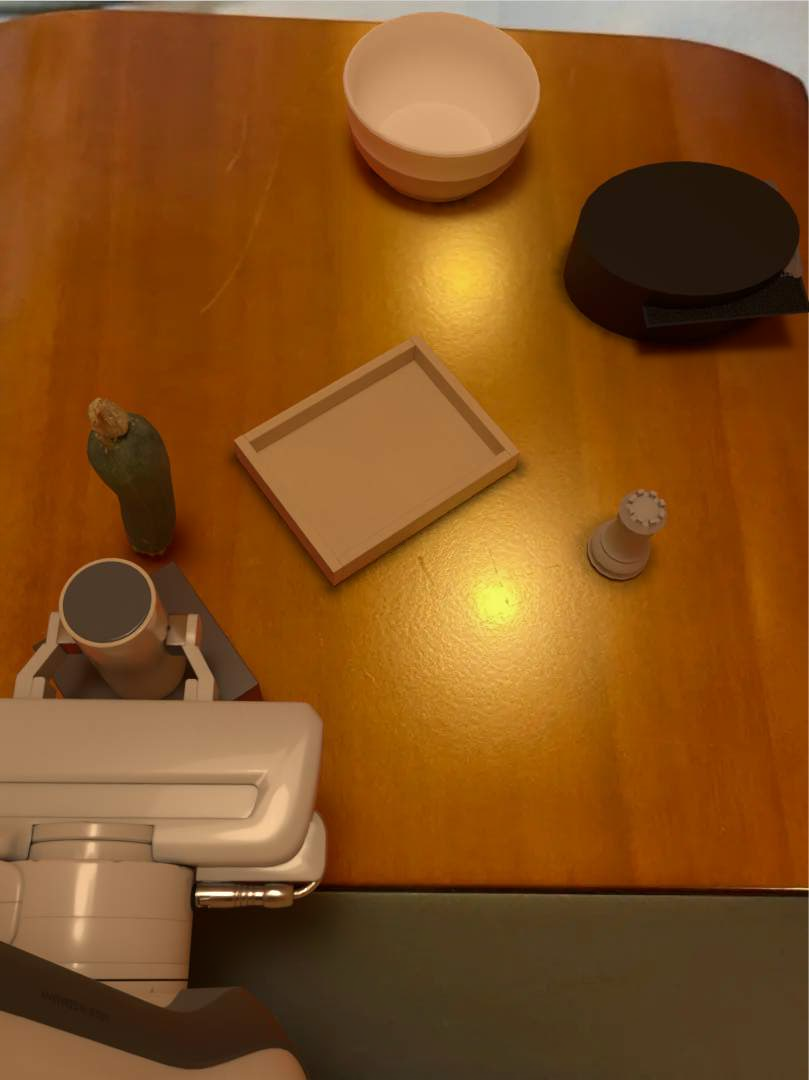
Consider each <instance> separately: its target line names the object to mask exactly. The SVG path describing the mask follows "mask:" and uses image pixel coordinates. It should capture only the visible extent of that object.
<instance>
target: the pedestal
mask: <svg viewBox="0 0 809 1080" xmlns="http://www.w3.org/2000/svg"><path fill="white" fill-rule="evenodd" d="M148 575H149V576H150V578H151V580H152V582H153V584H154V586H155V588H156V590H157V592H158V594H159V597H160V599H161V601H162V603H163V605H164V607H165V610H166V612H167V614H168V616H169V614H199V616H200V619H201V623H202V634H201V646H200V652H201V654H202V656H203V658H204V659H205V661H206V663H207V665H208V667H209V669H210V671H211V673H212V675H213V677H214V679H215V681H216V684H217V686H218V689H219V699H218V701H265V700H264V697H263V693H262V689H261V685H260V682H259V680H258V679H257V678H256V677H255V674H254V673H253V672H252V671H251V669H250V668H249V666H248V665H247V663H246V662H245V660H244V659H243V658H242V656H241V655H240V653H239V652H238V650H237V649H236V648H235V646H234V645H233V643H232V641H230V639H229V637H228V636H227V635H226V633H225V632H224V630H223V629H222V628H221V625H220V624H219V623H218V622H217V620H216V619H215V618H214V616H213V614H212V613H211V611H210V610H209V608H208V607H207V605H206V604H205V603H204V601H203V599H202V598H201V597H200V596H199V594H198V593H197V591H196V590H195V589H194V586H193V585H192V584H191V582H190V581H189V580H188V578H187V577H186V575H185V574H184V573H183V571H182V570H181V568H180V567H179V565H178V564H177V562H176V561H175V560H171V561H170V562H169V563H167V564H165V565H163V566H161V567H160V568H158V569H156V570H155V571H153V572H151V573H150V574H148ZM46 638H47V637H45V638H43V639H42V640H40V641H38V642H37V643H35V644H33V645H32V649H33V650H34V652H35V653H36V652H37V650H38V649H39V648H40V647H41V645H42V644H46ZM67 655H68V656H67V657H66V659H65V660H64V662H63V663H62V664H61V666H60V667H59V669H58V670H57V671H56V673H55V674H54V675H53V677H52V678H51V680H52V681H53V683H54V684H55V686H56V688H57V689H58V691H59V693H60V694H61V696H62V697H63V699H120V700H124V699H122V698H121V697H119V696H118V695H117V694H115V693H114V692H113V690H112V689H111V688H110V687H109V685H108V684H107V683H106V681H105V680H104V679H103V678H102V676H101V675H100V674H99V672H98V671H97V670H96V668H95V667H94V666H93V665H92V663H91V662H90V661H89V659H88V658H87V657H86V656H85V654H67ZM187 679H196V680H197V681H198V678H197V676H196V674H195V672H194V670H193V668H192V666H191V664H190V662H189V660H188V658H187V656H186V667H185V672H184V675H183V677H182V679H181V681H180V683H179V684H178V686H177V687H176V688H175V689H174V690H173V691H172V692H171V693H170V694H168V695H167V696H166V697H164V698H162V699H160V700H184V692H185V683H186V680H187Z"/></svg>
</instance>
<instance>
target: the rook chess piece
mask: <svg viewBox="0 0 809 1080" xmlns="http://www.w3.org/2000/svg"><path fill="white" fill-rule="evenodd" d="M666 506H667V505H666V502H665V500H664V498H660V497H659V496H658V492H657V491H655V490H653V489H650V490H649V491H648V490H645V488H640V489H637V490H633V491H630V492H628V493H626V494H625V495H624V496H623V497H622V499H621V500H620V502H619V504H618V512H617V514H616V517H615V518H611V519H607V520H605V521H604V522H602V523H601V524H600V525H598V526H597V527H596V528H595V530H594V531H593V532H592V534H591V535H590V537H589V539H588V542H587V555H588V557H589V560H590V563H591V564H592V565H593V567H595V569H596V570H597V572H599V573H600V574H602V575H604V576H606V577H608V578H610V579H615V580H622V581H623V580H628V579H631V578H635V577H636V576H637V575H638V574H640V573H642V572H643V570H644V569H645V566H646V565H647V563H648V561H649V559H650V557H651V540H650V538H652V537H653V536H654V535H655V534H656V533H658V532H659V531H661V530H662V529H663V528H664V527H665V525H666V523H667V520H668V511H667V507H666Z"/></svg>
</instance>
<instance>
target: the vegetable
mask: <svg viewBox="0 0 809 1080" xmlns="http://www.w3.org/2000/svg"><path fill="white" fill-rule="evenodd" d="M87 417H88V418H89V421H90V428H91V430H90V433H89V435H88V438H87V446H86V455H87V459H88V461H89V464H90V465H91V466H92V468H93V470H94V471H95V473H96V474H97V476H98V477H99V478H100V479H101V481H102V482H103V483H104V484H105V485H106V486H107V487H108V488H109V489H110V490H112V492H113V493H114V494H115V495H116V496H117V500H118V501H119V507H120V508H119V509H120V510H119V511H120V517H121V521H122V524H123V527H124V532H125V536H126V539H127V541H128V542H129V544H130V545H131V548H132V550H133V551H134V552H135V553H141V554H142V555H145V554H146V555H149V556H150V557H155V556H156V555H160V556H162V555H164V554H165V552H166V549H167V547H168V546H169V545H170V544H171V543H172V541H173V539H174V533H175V532H174V531H175V529H176V523H177V510H176V509H177V508H176V500H175V494H174V485H173V479H172V473H171V460H170V457H169V453H168V450H167V448H166V445H165V442H164V440H163V437H162V436H161V434H160V433H159V431H158V430H157V429H156V427H155V426H154V425H153V424H152V423H151V422H150V421H149V420H148V419H147V418H146V417H144V416H143V415H141V414H138V413H134V412H129V411H126V410H125V409H124V408H123V407H122V406H121V405H120V404H118V403H115V402H114V401H109V399H108V398H105V399H103V400H102V398H100V397H99V396H97V398H96V399H94V400H93V401H92V402H90V404H88V409H87Z"/></svg>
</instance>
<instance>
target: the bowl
mask: <svg viewBox="0 0 809 1080" xmlns="http://www.w3.org/2000/svg"><path fill="white" fill-rule="evenodd" d="M342 85H343V93H344V96H345V98H346V101H347V103H346V109H347V110H346V111H347V119H348V120H347V121H348V123H349V130H350V135H351V137H352V140H353V142H354V145H355V147H356V149H357V150H358V152H359V153H360V155H361V156H362V157H363V159H364V160H365V162H366V163H367V165H368V166H369V168H370V169H371V170H373V171H374V172H375V173H376V174H377V175H378V176H379V177H380V178H382V180H383V181H384V182H385V183H386V184H387V185H388V186H390V188H392V189H394V190H395V191H397V192H398V193H400V194H402V195H404V196H406V197H409V198H411V199H414V200H419V201H422V202H429V203H447V202H452V201H458V200H461V199H464V198H466V197H469V196H471V195H473V194H474V193H476V192H477V191H479V190H481V189H483V188H485V187H486V186H488V185H490V184H491V183H493V182H495V181H496V180H497V179H498V178H499V177H500V176H501V175H502V174H503V173H504V172H505V171H507V169H509V168H510V167H511V166H512V165H513V163H514V162H515V160H516V158H517V157H518V155H519V154H520V152H521V150H522V147H523V145H524V143H525V141H526V138H527V135H528V133H529V130H530V123H531V122H532V120H533V119H534V117H535V115H536V114H537V110H538V108H539V105H540V102H541V83H540V78H539V75H538V71H537V69H536V67H535V64H534V62H533V61H532V58H531V57H530V56H529V54H528V53H527V52H526V51H525V49H524V48H523V47H522V46H521V44H519V43H518V42H517V41H516V40H515V39H514V38H512V37H511V36H510V35H509V34H508V33H506V32H504V31H503V30H501V29H500V28H498V27H497V26H495V25H494V24H491V23H488V22H485V21H483V20H481V19H478V18H476V17H471V16H468V15H464V14H460V13H455V12H445V11H419V12H414V13H409V14H403V15H400V16H397V17H394V18H391V19H388V20H385V21H384V22H382V23H380V24H378V25H376V26H375V27H372V28H371V29H370V30H369V31H368V32H366V33H365V34H364V35H362V37H360V38H359V40H358V41H357V42H356V44H355V45H354V46H353V47H352V48H351V50H350V52H349V54H348V56H347V59H346V61H345V63H344V66H343V73H342Z"/></svg>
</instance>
